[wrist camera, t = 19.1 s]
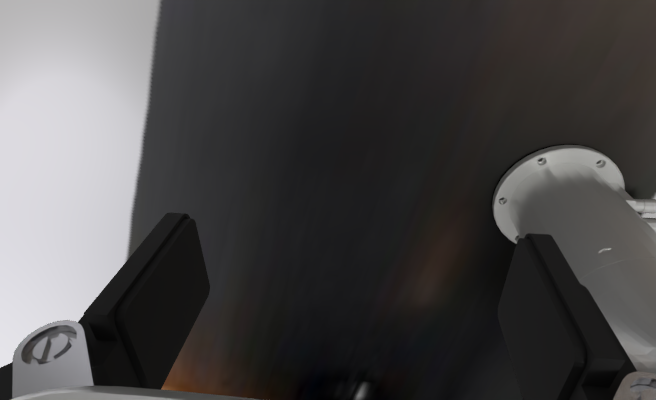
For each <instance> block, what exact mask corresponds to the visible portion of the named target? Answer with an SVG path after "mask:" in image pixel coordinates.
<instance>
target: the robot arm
mask: <svg viewBox="0 0 656 400" xmlns="http://www.w3.org/2000/svg"><path fill="white" fill-rule="evenodd" d="M540 158H541V159H540ZM538 159H539V160H538ZM492 210H493V216H494V219H495V221H496V224H497V226H498V227H499V229H500V231H501V232H502V233H503V234H504V235H505V236H506V237H507V238H508V239H509V240H511V241H512V242H514V243H516V247H515V251H514V254H513V257H512V261H511V264H510V268H509V271H508V274H507V278H506V281H505V285H504V288H503V291H502V295H501V298H500V302H499V305H498V320H499V323H500V327H501V330H502V333H503V336H504V339H505V343H506V346H507V349H508V352H509V355H510V359H511V362H512V365H513V368H514V372H515V375H516V378H517V381H518V384H519V388H520V391H521V394H522V397H523V400H656V218H642V217H641V216H640V215H639V214H638V213H637V212H640V213H656V200H655V199H633V198H632V197H631V196H630V195H629V194H628V193H627V192H626V191H625V183H624V180H623V176H622V174H621V172H620V170H619V169H618V167H617V166H616V165H615V164H614V163H613V162H612V161H611V160H610V159H609V158H608V157H607V156H605V155H604V154H603V153H601V152H599V151H597V150H595V149H592V148H589V147H585V146H580V145H560V146H553V147H549V148H546V149H542V150H539V151H537V152H535V153H532V154H530V155H528V156H526V157H525V158H523V159H522V160H520V161H519V162H517V163H516V164H515V165H514V166H512V167H511V168H510V169H509V170H508V171H507V172H506V173H505V175H504V176H503V177H502V178H501V180H500V182H499V183H498V185H497V187H496V189H495V192H494V196H493V200H492ZM209 290H210V285H209V280H208V275H207V271H206V267H205V262H204V258H203V253H202V249H201V245H200V240H199V236H198V231H197V227H196V223H195V221H194V219H190V217H189V215H188V214H182V213H167V214H166V215H165V216H164V217H163V218H162V219H161V221H160V222H159V223H158V224H157V225H156V227H155V228H154V229H153V230H152V231H151V233H150V234H149V235H148V236H147V237H146V239H145V240H144V241H143V242H142V244H141V245H140V246H139V247H138V248H137V250H136V251H135V252H134V253H133V254H132V256H131V257H130V258H129V259H128V260H127V262H126V263H125V264H124V265H123V267H122V268H121V269H120V270H119V271H118V273H117V274H116V275H115V276H114V277H113V279H112V280H111V281H110V282H109V283H108V285H107V286H106V287H105V288H104V290H103V291H102V292H101V293H100V295H99V296H98V297H97V298H96V299H95V300H94V302H93V303H92V304H91V305H90V306H89V308H88V309H87V310H86V311H85V312H84V315H83V317H82V318H81V319H80V320H79V322H78V323H77V322H76V321H70V320H64V321H57V322H53V323H50V324H47V325H45V326H43V327H41V328H39V329H37V330H35V331H34V332H33V333H31V334H30V335H28V336H27V337H26V338H25V339H24V340H23V341H22V342H21V343H20V344H19V345H18V347H17V349H16V350H15V352H14V356H13V362H12V363H10V364H8V365H6V366H3V367H1V368H0V400H261V399H252V398H242V397H232V396H222V395H212V394H202V393H192V392H182V391H171V390H161V388H162V386H163V384H164V382H165V380H166V378H167V376H168V374H169V372H170V370H171V368H172V366H173V364H174V362H175V360H176V358H177V356H178V354H179V352H180V350H181V349H182V347H183V345H184V343H185V341H186V339H187V337H188V335H189V333H190V331H191V329H192V327H193V325H194V323H195V321H196V319H197V317H198V315H199V313H200V311H201V309H202V307H203V305H204V303H205V301H206V299H207V297H208V295H209Z"/></svg>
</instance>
